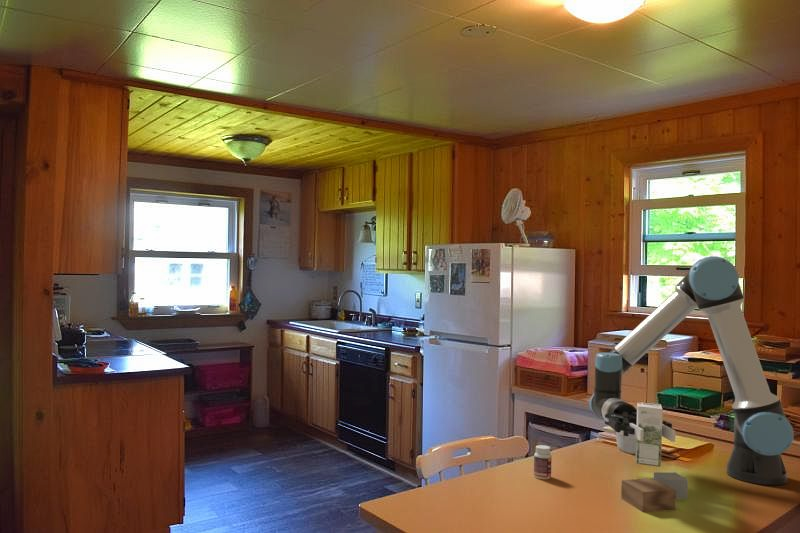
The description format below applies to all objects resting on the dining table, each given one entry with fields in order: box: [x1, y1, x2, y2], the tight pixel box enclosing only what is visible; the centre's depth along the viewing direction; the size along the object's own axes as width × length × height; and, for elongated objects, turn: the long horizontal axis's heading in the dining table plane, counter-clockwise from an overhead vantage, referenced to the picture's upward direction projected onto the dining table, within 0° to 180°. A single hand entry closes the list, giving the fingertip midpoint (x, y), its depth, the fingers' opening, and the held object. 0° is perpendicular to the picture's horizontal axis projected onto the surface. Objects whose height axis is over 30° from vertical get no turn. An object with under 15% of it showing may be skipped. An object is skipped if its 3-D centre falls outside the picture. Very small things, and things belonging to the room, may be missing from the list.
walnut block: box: [620, 477, 677, 513], centre depth 154 cm, size 9×9×5 cm
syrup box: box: [634, 401, 664, 468], centre depth 155 cm, size 6×6×14 cm
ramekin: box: [615, 431, 636, 455], centre depth 204 cm, size 13×13×7 cm
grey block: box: [653, 471, 689, 500], centre depth 162 cm, size 6×6×5 cm
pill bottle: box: [533, 444, 553, 480], centre depth 174 cm, size 5×5×8 cm
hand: (657, 435), depth 150 cm, fingers closed on syrup box, 7 cm apart
